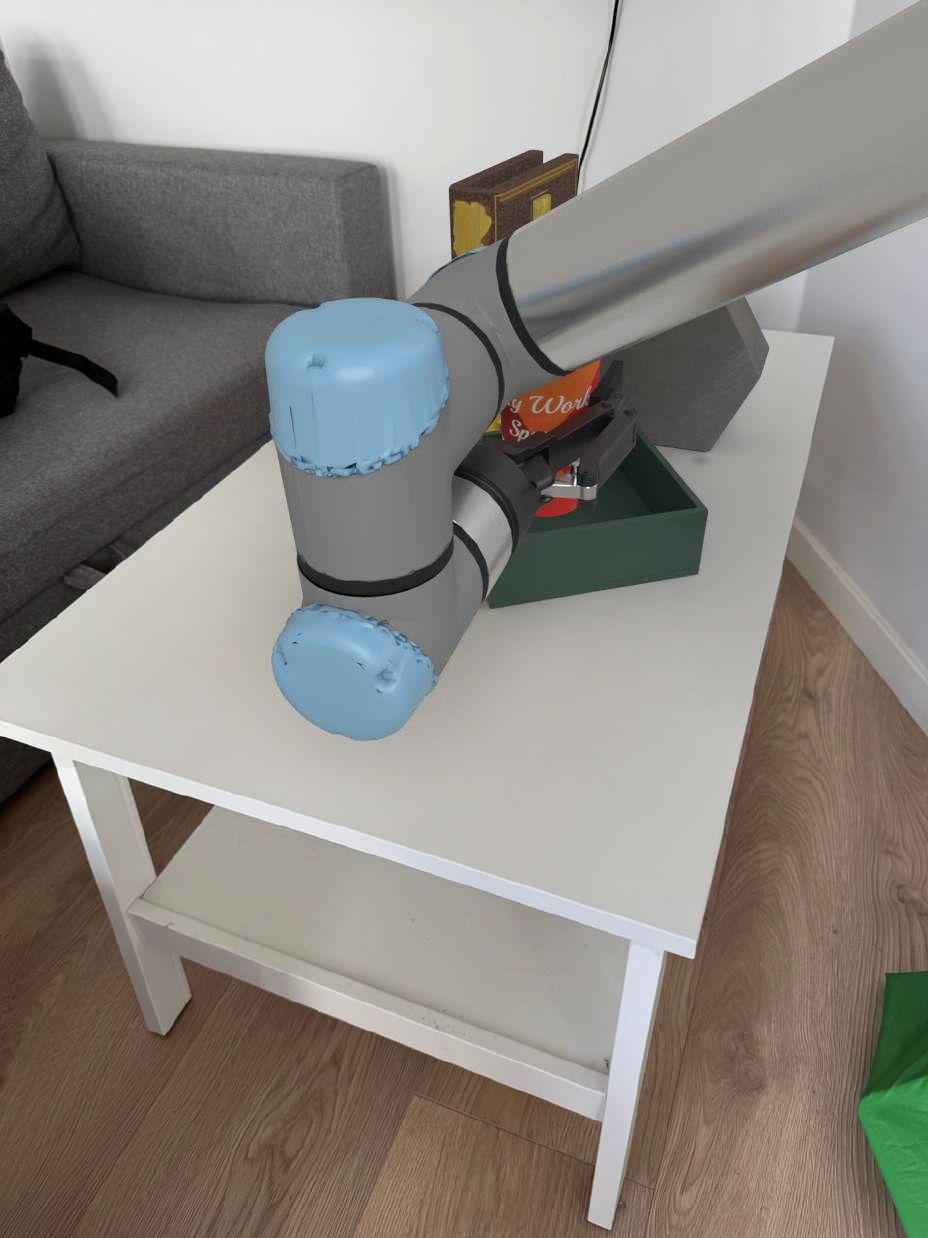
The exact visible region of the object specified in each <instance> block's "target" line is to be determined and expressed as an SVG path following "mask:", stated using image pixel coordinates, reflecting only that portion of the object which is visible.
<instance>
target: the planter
mask: <svg viewBox="0 0 928 1238" xmlns="http://www.w3.org/2000/svg"><path fill="white" fill-rule="evenodd" d="M769 351H770V346H769V343H768V341H767V339H766V337H765V335H764V333H763V331H762V329H761V327H760V324H759V323H758V320H757V318H756V316H755V314H754V312H753V310H752V308H751V306H750V304H749V301H748V300H747V297H746V296H745V297H743V298H740V299H738V300H736V301H734V302H731V303H729V304H727V305H724V306H722V307H720V308H718V309H715V310H713V311H711V312H708V313H706V314H704V315H701V316H699V317H697V318H695V319H692V320H690V321H688V322H685V323H683V324H681V325H679V326H676V327H674V328H672V329H669V330H667V331H665V332H663V333H660V334H658V335H656V336H653V337H651V338H649V339H646V340H644V341H642V342H640V343H637V344H635V345H633V346H630V347H628V348H626V349H624V350H621V351H619V352H617V353H614V354H612V355H610V356H608V357H605V358H603V359H601V362H600V371H599V379H598V384H599V382H600V380H601V379H602V377H603V376H604V374H605V373H606V371H607V370H608V368H609V367H610V365H611V363H612V362H613V360H620V361H624V365H623V378H622V389H625V391H626V397H625V408H634V409H636V410H638V412H639V413H638V424H637V425H638V426H639V427H640V428H641V430H642V431H643V432H644V433H645V434H646V436H647V437H648V438H649V439H650V440H651V442H652V443H653V444H654V445H655V446H662V447H669V448H677V449H685V450H691V451H695V452H696V451H698V452H704V453H707V452H710V451H711V450H712V449H713V448H714V446H715V444H716V443H717V441H718V440H719V439H720V437H721V436H722V434H723V433H724V431H725V430H726V428H727V427H728V426H729V424H730V423H731V421H732V420H733V418H734V417H735V416H736V414H737V412H738V411H739V410H740V409H741V407H742V405H743V403H745V401H746V399H747V398H748V396H749V395H750V394H751V392H752V391H753V389H754V388H755V387H756V385H757V383H758V382H759V380H760V379H761V377H762V374H763V370H764V368H765V365H766V361H767V358H768V355H769Z"/></svg>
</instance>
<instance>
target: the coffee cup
mask: <svg viewBox="0 0 928 1238" xmlns="http://www.w3.org/2000/svg"><path fill="white" fill-rule="evenodd" d="M600 362H601V360H598V361H596V362H594V363H591V364H589V365H587V366H585V367H582V368H580V369H578V370H576V371H575V372H573V373H571V374H568V375H566V376H564V377H562V378H559V379H557V380H555V381H553V382H551V383H548V384H546V385H544V386H542V387H539V388H537V389H535V390H532V391H530V392H528V393H526V394H523V395H521V396H519V397H517V398H516V399H514V400H512V401H511V402H509V403H508V404H507V405H506V407H505V408H504V409H503V410H502V412H501V413H500V414H501V424H500V429H501V430H502V440H506V441H521V440H523V439H525V438H527V437H528V436H530V435H532V434H533V433H535V432H537V431H542V432H545V433H547V432H549V431H550V430H552V429H554V428H556V427H557V426H559V425H561V424H562V423H564V422H566V421H568V420H569V419H571V418H573V417H574V416H576V415H578V414H579V413H581V412H583V411H585V410H586V409H588V408H590V396H591V394H592V393H593V391H594V390H595V388H596V387H597V385H598V379H599V371H600ZM576 461H578V462H580V459H578V460H576ZM568 470H571V464H570V465H568V466H567V467H565V468H564V469H562V470H561V471H559V472H558V473H557V474H556V476H555V477H558V476H562V475H564V474H565V473H566V472H567V471H568ZM576 508H577V498H575V499H574V498H559V497H554V499H553V500H552V502H551V503H550V504H548V505H546V506H544V507H542V508H541V509H539V510H538V511H537V513H536V515H535V516H544V517H548V516H558V515H562V514H566V513H568V512H571V511H573V510H574V509H576Z"/></svg>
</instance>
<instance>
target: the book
mask: <svg viewBox="0 0 928 1238" xmlns="http://www.w3.org/2000/svg"><path fill="white" fill-rule="evenodd" d="M579 161H580V154H578V153H572V152H564V153H562V154H561V155H558V156H556V157H554V158H552V159H549V160H547V161H545V162H544V150H541V149H529V150H525V151H524V152H522V153H520V154H517V155H515V156H513V157H510V158H508V159H505V160H503V161H502V162H499V163H497V164H494V165H492V166H489V167H488V168H484V169H483V170H481V171H478V172H476V173H474V174H472V175H469V176H467V177H465V178H463V179H460V180H458V181H456V182H454V183H453V182H452V183H451V184H450V185H449V187H448V202H449V203H448V205H449V206H448V207H449V230H450V231H449V233H450V234H449V235H450V256H451V257H450V261H451V260H452V259H454V258H456V257H458V256H459V255H461V254H463V253H466V252H469V251H471V250H473V249H476V248H479V247H483V246H490V245H492V244H493V243H495V242H497V241H499V240H501V239H503V238H506V237H508V236H510V235H511V234H513V233H514V232H515V231H516V230H517V229H519V228H521V227H523V226H524V225H526V224H528V223H530V222H531V221H533V220H535V219H537V218H538V217H540V216H542V215H544V214H545V213H547V212H549V211H551V210H553V209H554V208H556V207H558V206H560V205H561V204H563V203H565V202H567V201H568V200H570V199H572V198H574V197H575V196H577V195H578V187H579V185H578V184H579V163H580V162H579Z"/></svg>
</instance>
